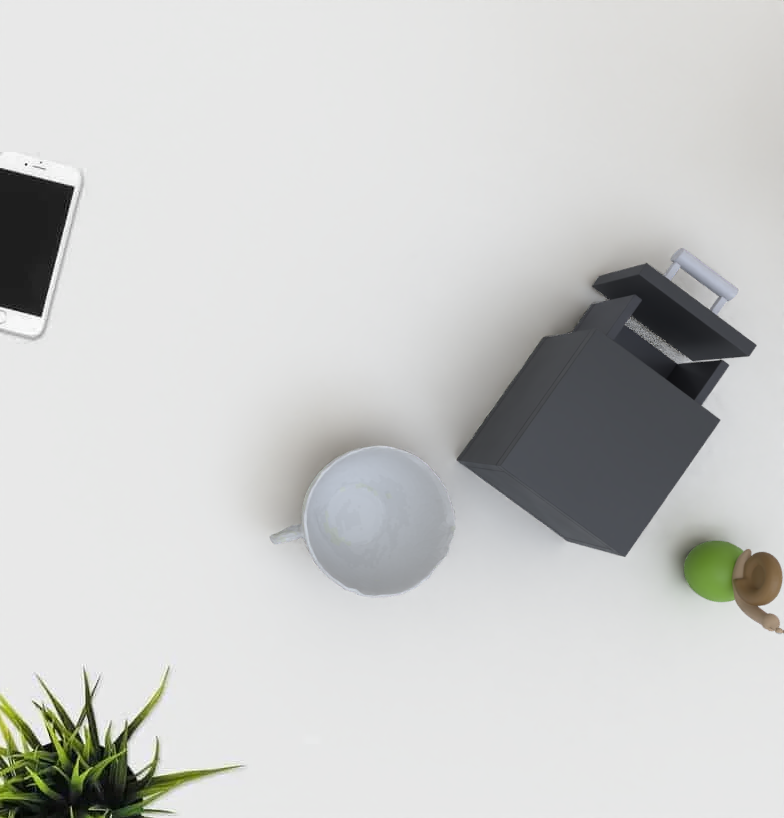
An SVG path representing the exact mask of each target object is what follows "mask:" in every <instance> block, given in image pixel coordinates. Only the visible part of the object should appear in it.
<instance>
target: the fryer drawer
mask: <svg viewBox="0 0 784 818" xmlns="http://www.w3.org/2000/svg"><path fill="white" fill-rule="evenodd" d="M670 261H671V264H670V265H669V267H668V268H667V269H666V271H665V272H664V274H663V273H661V272H660V271H658V270H657V269H656V268H654V267H653V266H651V264H649V263H648V262H645V263H641V264H638V265H634V266H631V267H627V268H624V269H623V268H622V269H620V270H616V271H612V272H609V273H605V274H601V275H598V277H597V278H596V280H594V282H593V283H592V285H591V287H592V288H593V289H594V290H596V291H597V292H599V293H600V294H601V295H603V296H604V297H605V298H607V299H608V300H604V301H598V302H594V303H591V304H590V305H589V306H588V308H587V310H586V311H585V312H584V314H583V315H582V316H581V318H580V320H579V321H578V322H577V324H576V325H575V326H574V328H573V329H572V331H571V332H577V331H583V330H589V329H596V328H598V329H599V330H600V331H602V332H603V333H604V334H606V335H607V336H608V337H610V338H611V339H612V340H614V341H615V342H616V343H618V344H619V345H620V346H622V347H623V348H625V349H626V350H627V351H629V352H630V353H631V354H633V355H634V356H635V357H637V358H638V359H639V360H641V361H642V362H643V363H645V364H646V365H647V366H649V367H650V368H652V369H653V370H654V371H656V372H657V373H658V374H660V375H661V376H662V377H664V378H665V379H666V380H668V381H669V382H670V383H672V384H673V385H674V386H676V387H677V388H678V389H680V390H681V391H683V392H684V393H685V394H687V395H688V396H689V397H691V398H692V399H693V400H695V401H696V402H697V403H699V404H700V405H701V406H703V404H704V403H705V401H706V400H707V399H708V397H709V396H710V394H711V393H712V391H713V390H714V389H715V387H716V385H717V384H718V383H719V381H720V380H721V379H722V377H723V376H724V374H725V373H726V372H727V370H728V369H729V367H730V364H729V363H728V362H726V361H725V359H726V360H727V359H736V358H747V357H750V356H751V355H752V354H753V352H754V350H755V349H756V348H757V344H756V343H755V342H754V341H752V340H750V338H748V337H747V336H745V335H744V334H743V333H741V332H740V331H739V330H738V329H736V328H734V326H732V325H731V324H729V323H728V322H727V321H726V320H725V319H723V318H721V317H720V316H719V313H720V312H721V310H722V309H723V308H724V306H725V304H727V302H730V301H732V300H733V299H734V298H735V297H736V296H737V295H738V293H739V288H738V287H737V286H735V285H734V284H733V283H731V282H730V281H729V280H727V279H726V278H725V277H723V276H722V275H721V274H720V273H718V272H717V271H715V270H714V269H713V268H711V267H710V266H708V265H707V264H706V263H704V262H703V261H702V260H701V259H699V258H698V257H696V256H695V255H694V254H693V253H691V252H690V251H688V250H687V249H686V248H684V247H680V248H679V249H677V250H676V251H675V252H674V253H673V254H672V255H671V258H670ZM679 270H683V271H684V272H685V273H687V274H688V275H689V276H691V277H692V278H693V279H695V280H696V281H697V282H698V283H700V284H701V285H703V287H705V288H707V289H708V290H709V291H711V292H712V293H713V294H714V295H716V296H717V298H716V300H715V301H714V302H713V304H712V305H711V306H710V308H708V307H707V306H705V305H704V304H703V303H701V302H700V301H699V300H697V299H696V298H695V297H693V296H692V295H690V294H689V293H688V292H687V291H685V290H684V289H682V288H681V287H680V286H678V285H677V284H676V283H674V282H673V281H672V280H673V279H674V277H675V275H676V274H677V273H678V271H679ZM631 317H632V318H634V320H636V321H637V322H639V323H640V324H642V325H643V326H644V327H646V328H647V329H648V330H650V331H651V332H652V333H654V334H656V336H658V337H659V338H661V340H663V341H664V342H665V343H667V344H669V346H671V347H673V348H674V349H675V350H676V351H678V352H679V353H681V354H682V355H683V356H685V357H686V358H687V359H688V360H690V361H691V362H680V363H677V362H676V361H675V360H673V358H671V357H669V356H668V355H666V354H665V353H664V352H662V351H661V350H660V349H658V348H657V347H656V346H654V345H653V344H651V343H650V342H649V341H648V340H646V339H645V338H643V337H642V336H641V335H639V334H638V333H637V332H635V331H634V330H633V329H632V328H631V327H629V326H627V325H626V324H627V322H628V321H629V319H630V318H631Z"/></svg>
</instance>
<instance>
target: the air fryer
mask: <svg viewBox="0 0 784 818" xmlns="http://www.w3.org/2000/svg"><path fill="white" fill-rule="evenodd" d="M483 420H484V421H482V423H481V425H480V426H479V427H478V429H477V430H476V432H475V433H474V434H473V436H472V437H471V438H470V440H469V442H468V443H467V444H466V446H465V447H464V449H463V450H462V451H461V453H460V454H459V456H458V457H457V459H456V461H457V462H458V463H460V464H461V465H462V466H463V467H465V468H466V469H468V470H470V472H472V473H473V474H475V475H476V476H477V477H478V478H480V479H481V480H483V481H484V482H486V483H487V484H488V485H490V486H491V487H493V488H494V489H495V490H497V491H498V492H499V493H501V494H502V495H503V496H504V497H506V498H507V499H509V500H511V501H512V502H513V503H514V504H516V505H517V506H519V508H521V509H523V510H524V511H525V512H526V513H528V514H529V515H530V516H532V517H534V518H535V519H536V520H538V521H539V522H540V523H541V524H543V525H545V526H546V527H547V528H549V529H550V530H551V531H552V532H554V533H555V534H557V535H558V536H559V537H561V538H562V539H564V540H565V541H566V542H568V543H571V544H575V545H579V546H583V547H586V548H590V549H593V550H597V551H600V552H605V553H609V554H611V555H616V556H620V557H623V558H626V557H627V555H628V553H630V551H631V549H632V548H633V547H634V545H635V544H636V542H637V541H638V539H639V538H640V537H641V535H642V534H643V533H644V531H645V530H646V529H647V527H648V525H649V524H650V522H651V520H653V518H654V517H655V516H656V514H657V512H658V511H659V509H660V508H661V507H662V506H663V504H664V502H665V501H666V499H667V498H668V496H669V495H670V494H671V493H672V491H673V489H675V486H676V485H677V484H678V482H679V481H680V479H681V478H682V476H683V475H684V473H685V472H686V471H687V469H688V468H689V467H690V465H691V464H692V462H693V461H694V459H695V458H696V456H698V454H699V453H700V451H701V450H702V448H703V447H704V445H705V444H706V443H707V440H709V438H710V436H711V435H712V433H713V432H714V430H715V429H716V428H717V427H718V425H719V423H720V422H721V418H719V417H718V416H716V415H715V414H714V413H712V412H711V411H709V410H708V409H707V408H706V407H704V406H703V405H702V406H701V405H700V404H699V403H697V402H696V401H695V400H693V399H692V398H691V397H689V396H688V395H687V394H685V393H684V392H683V391H681V390H680V389H678V388H677V387H676V386H674V385H673V384H672V383H670V382H669V381H668V380H666V379H665V378H664V377H662V376H661V375H660V374H658V373H657V372H656V371H654V370H653V369H652V368H650V367H649V366H647V365H646V364H645V363H643V362H642V361H641V360H639V359H638V358H637V357H635V356H634V355H633V354H631V353H630V352H629V351H627V350H626V349H625V348H623V347H622V346H620V345H619V344H618V343H616V342H615V341H614V340H612V339H611V338H610V337H608V336H607V335H606V334H604V333H603V332H602V331H600V330H599V329H598V328H596V329H589V330H583V331H577V332H572V331H571V332H566V333H560V334H554V335H549V336H543V337H542V338H541V339H540V341H539V342H538V344H537V345H536V347H535V348H534V349H533V351H532V353H531V354H530V355H529V356H528V358H527V359H526V361H525V362H524V363H523V365H522V367H521V368H520V369H519V371H518V372H517V374H516V375H515V377H514V378H513V379H512V381H511V382H510V383H509V385H508V387H507V388H506V389H505V391H504V392H503V394H502V395H501V396H500V397H499V399H498V400H497V402H496V403H495V405H494V406H493V408H492V409H491V411H490V412H489V413H488V415H487V416H486V417H485V419H483Z"/></svg>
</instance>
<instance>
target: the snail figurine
mask: <svg viewBox="0 0 784 818" xmlns="http://www.w3.org/2000/svg"><path fill="white" fill-rule="evenodd" d="M752 553H753V551H752V549H750V548H746V549H745V550H743V549H742V548H740V547H739V546H737V545H736V544H735V543H731V542H729V541H725V540H719V539H718V540H707V541H704V542H701V543H699V544H697V545H696V546H694V547H693V548H692V549H691V550H690V551H689V552H688V554H687V555H686V557H685V560H684V562H683V574H684V578H685V581H686V583H687V585H688V587H689V588H690V589H691V590H692V591H693V592H694V593H695V594H696V595H698V596H699V597H701V598H703V599H705V600H706V601H710V602H715V603H729V602H733V601H735V603H736V605H737V606H738V608H739V609H740V610H741V612H742V613H743V614H744V615H746V616H747V617H748V618H750V619H751V620H752V621H753V622H755V623H757V624H758V625H761V626H762V628H763V629H764V630H767V631H768V632H775V634H777V635H782V634H783V635H784V629H783V628H781V627H780V625H781V621H780V618H779V616H777V615H776V614H774V613H771V612H769V613H767V611H765V610H764V609H762V608H761V606H762V607H763V606H766V605H768V604H770V603H772V602H773V601H775V600H776V598H777V597H778V596H779V593H780V592H781V589H782V586H783V579H784V578H783V570H782V566H781V564H780V562H779V560H778V558H777V557H776V556H774V555H773V554H772V553H769V552H767V551H758V552H754V553H753V554H752Z"/></svg>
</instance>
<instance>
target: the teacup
mask: <svg viewBox="0 0 784 818" xmlns="http://www.w3.org/2000/svg"><path fill="white" fill-rule="evenodd" d="M300 518H301V520H300V521H301V523H298V524H292V525H289V526H287V527H286V528H284V529H282V530H280V531H278V532H275V533H273V534H270V535H269V540H270V541H271V543H272V544H274V545H280V544H284V543H289V542H292V541H295V540H298V539H303V541H304V543H305V545H306V548H307V551H308V553H309V556H310V557H311V559H312V560H313V562H314V564H315V565H316V566H317V567H318V569H319V570H320V571H321V572H322V573H323V574H324V575H325V577H327V578H328V579H329V580H331V581H332V582H333V583H335V584H336V585H338V586H339V587H341V589H343V590H345V591H349V592H350V593H354V594H355V595H357V596H360V597H363V598H375V599H376V598H389V597H397V596H400V595H402V594H406V593H408V592H410V591H412V590H414V589H416V588H418V586H420V585H421V584H422V583H425V581H427V580H429V579H430V578H431V576H432V575H433V573H434V572H435V571H436V569H437V568H438V566H439V565H440V564H441V563H442V562H443V560H444V559H445V558H446V557H447V556H448V553H449V550H450V546H451V543H452V541H453V539H454V536H455V535H454V534H455V531H456V528H457V527H456V515H455V510H454V506H453V504H452V499H451V496H450V494H449V491H448V489H447V487H446V485H445V484H444V482H443V481H442V479H441V478H440V476H439V475H438V474H437V473H436V472H435V471H434V470H433V469H432V468H431V466H430V465H429V464H428V463H427V462H425V461H424V460H423V459H422V458H420V457H419V456H418V455H416V454H414V453H413V452H410V451H408V450H404V449H402V448H398V447H393V446H389V445H370V446H364V447H359V448H354V449H352V450H349V451H347V452H345V453H343V454H340V455H338V456H336V457H335V458H334V459H333V460H331V461H329V462H328V463H327V464H325V466H324V467H322V469H321V470H320V471H319V472H318V473H317V474H316V475H315V476H314V477H313V479H312V481H311V483H310V485H309V487H308V489H307V491H306V493H305V496H304V499H303V502H302V507H301V517H300Z"/></svg>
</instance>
